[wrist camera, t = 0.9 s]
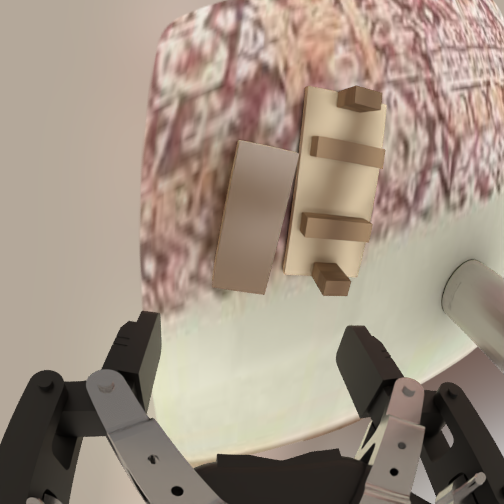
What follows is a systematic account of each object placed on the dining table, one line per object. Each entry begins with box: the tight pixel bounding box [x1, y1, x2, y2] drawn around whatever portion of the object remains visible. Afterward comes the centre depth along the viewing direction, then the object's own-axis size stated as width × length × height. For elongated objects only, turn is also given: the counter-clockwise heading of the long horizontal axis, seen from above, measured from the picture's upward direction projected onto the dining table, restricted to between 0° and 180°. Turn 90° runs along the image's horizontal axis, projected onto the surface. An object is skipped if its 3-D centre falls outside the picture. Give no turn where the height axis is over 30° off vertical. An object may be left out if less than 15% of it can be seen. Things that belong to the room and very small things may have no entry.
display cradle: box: [283, 86, 387, 296], centre depth 24 cm, size 8×18×5 cm, turn 174°
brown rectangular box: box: [212, 140, 299, 295], centre depth 25 cm, size 5×12×5 cm, turn 168°
